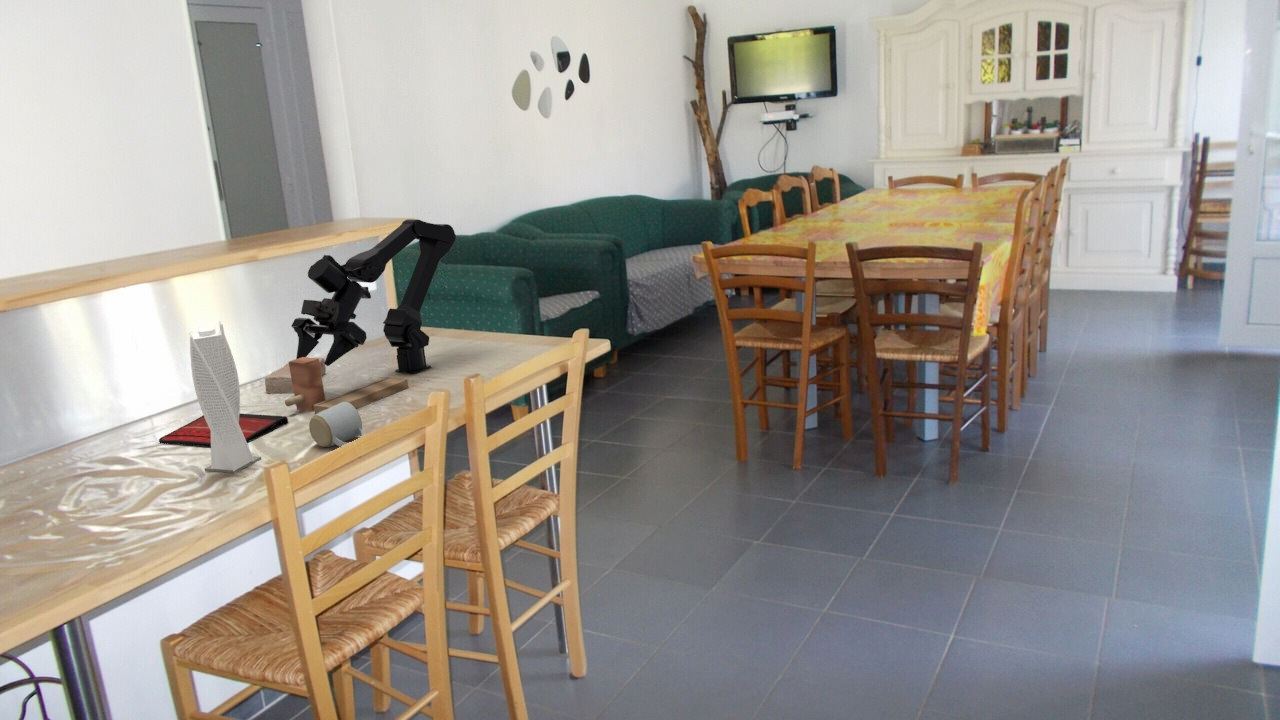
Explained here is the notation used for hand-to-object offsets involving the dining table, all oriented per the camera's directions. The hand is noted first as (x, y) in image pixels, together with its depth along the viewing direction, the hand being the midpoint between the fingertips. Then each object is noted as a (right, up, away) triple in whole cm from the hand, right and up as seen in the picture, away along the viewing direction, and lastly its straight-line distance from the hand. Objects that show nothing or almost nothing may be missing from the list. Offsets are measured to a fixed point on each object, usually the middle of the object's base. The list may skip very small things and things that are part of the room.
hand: (312, 363), depth 208 cm
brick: (-11, -5, +22) cm, 25 cm away
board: (+10, -8, +3) cm, 14 cm away
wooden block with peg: (-1, -10, -1) cm, 11 cm away
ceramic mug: (+14, -16, -23) cm, 32 cm away
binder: (-14, -15, -12) cm, 24 cm away
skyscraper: (-3, -19, -32) cm, 38 cm away
